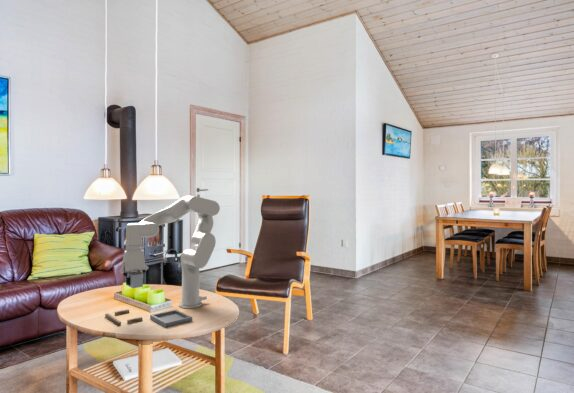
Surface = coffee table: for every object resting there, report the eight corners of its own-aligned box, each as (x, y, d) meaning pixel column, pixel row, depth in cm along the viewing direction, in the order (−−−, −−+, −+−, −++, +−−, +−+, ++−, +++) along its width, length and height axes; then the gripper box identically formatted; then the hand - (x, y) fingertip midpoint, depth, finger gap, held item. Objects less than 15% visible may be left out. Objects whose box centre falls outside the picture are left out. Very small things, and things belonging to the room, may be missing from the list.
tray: (176, 313, 212) (176, 309, 212) (192, 321, 201) (192, 317, 200) (150, 318, 203) (150, 314, 203) (165, 327, 191) (165, 323, 191)
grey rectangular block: (135, 283, 209) (135, 269, 209) (142, 286, 202) (142, 272, 202) (125, 284, 206) (125, 271, 205) (132, 288, 199) (132, 274, 199)
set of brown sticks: (128, 312, 213) (128, 309, 213) (142, 320, 200) (142, 317, 200) (105, 316, 205) (105, 313, 205) (118, 325, 192) (118, 322, 192)
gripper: (147, 245, 212) (147, 280, 212) (113, 248, 200) (114, 285, 201) (153, 247, 206) (153, 282, 207) (119, 250, 195) (119, 288, 195)
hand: (134, 283), depth 204 cm, fingers closed on grey rectangular block, 5 cm apart
